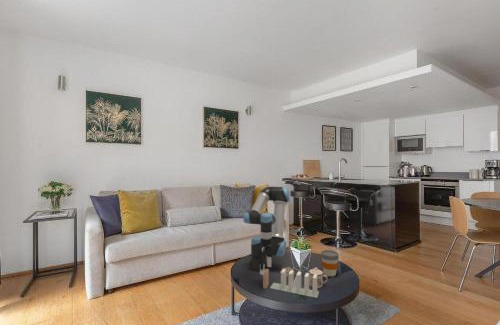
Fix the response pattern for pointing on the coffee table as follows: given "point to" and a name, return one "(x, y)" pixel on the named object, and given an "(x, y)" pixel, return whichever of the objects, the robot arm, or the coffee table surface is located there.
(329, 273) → the reusable coffee cup
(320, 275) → the teacup with lid
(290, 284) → the domino
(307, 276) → the domino
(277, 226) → the robot arm
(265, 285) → the domino
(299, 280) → the domino
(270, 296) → the coffee table surface
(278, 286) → the strip
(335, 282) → the coffee table surface
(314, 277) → the domino
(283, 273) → the domino
